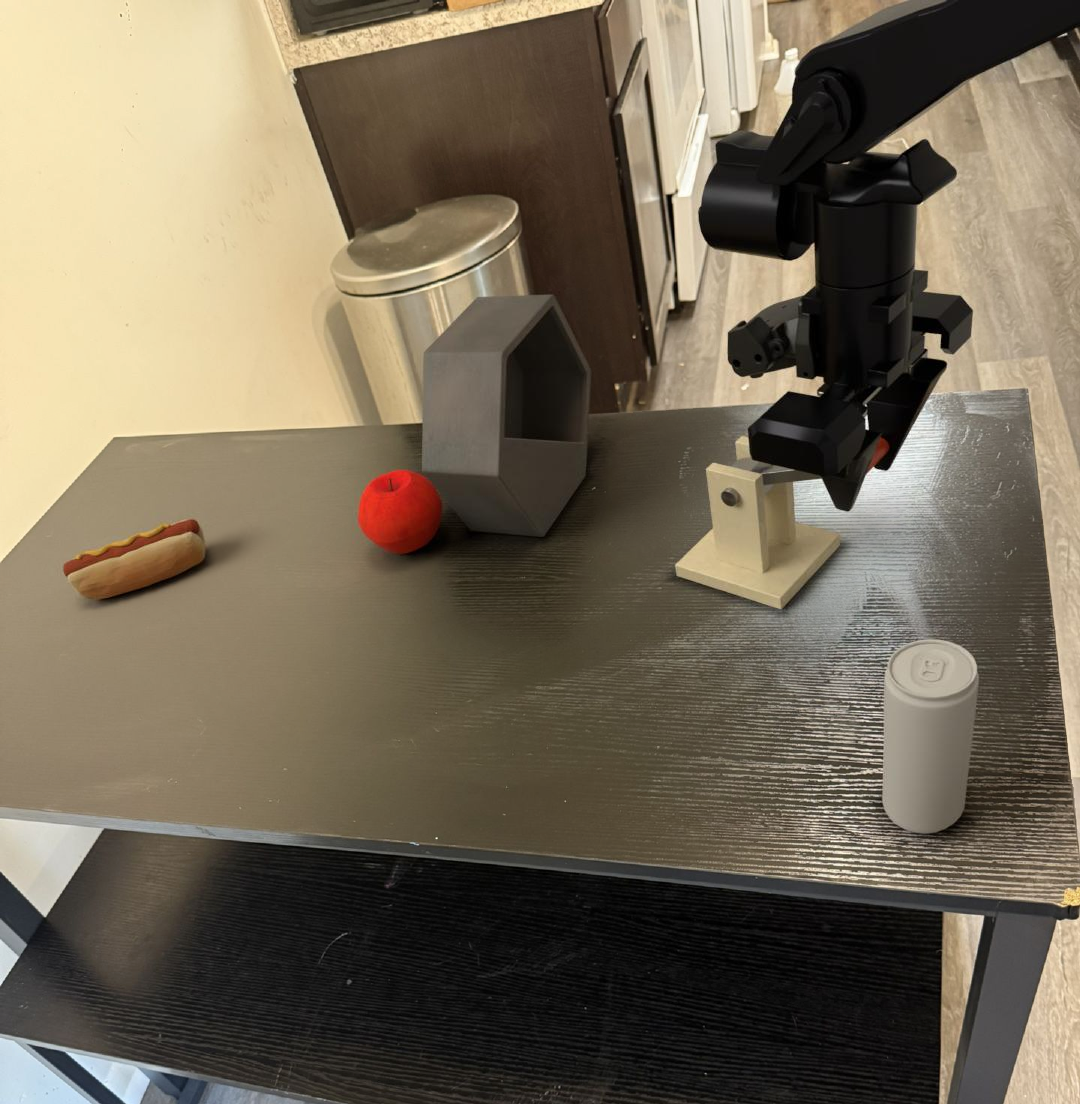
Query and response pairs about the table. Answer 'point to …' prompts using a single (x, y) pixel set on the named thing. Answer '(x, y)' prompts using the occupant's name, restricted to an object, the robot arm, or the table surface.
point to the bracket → (755, 538)
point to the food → (137, 560)
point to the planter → (506, 414)
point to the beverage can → (928, 733)
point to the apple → (400, 511)
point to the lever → (786, 475)
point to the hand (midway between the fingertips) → (863, 488)
